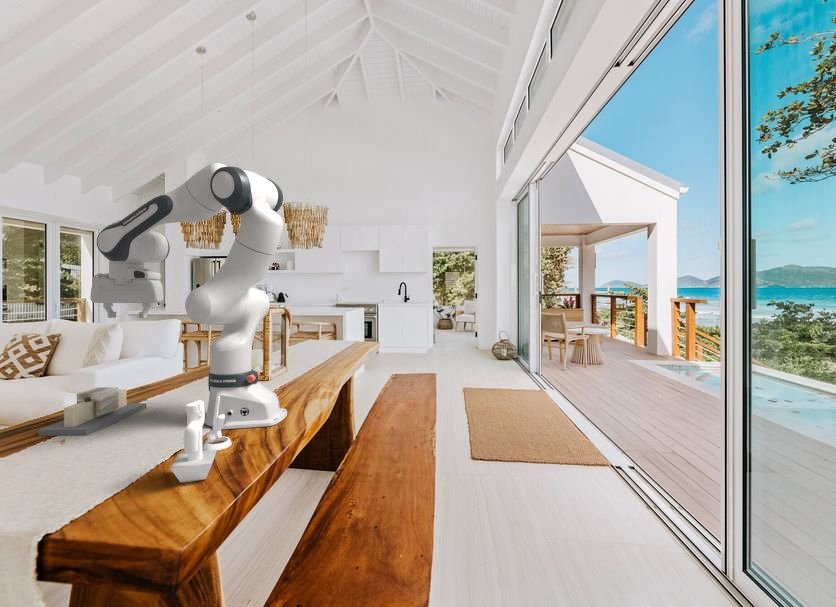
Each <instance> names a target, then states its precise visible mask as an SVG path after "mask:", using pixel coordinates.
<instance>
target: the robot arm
mask: <svg viewBox="0 0 836 607" xmlns="http://www.w3.org/2000/svg"><path fill="white" fill-rule="evenodd" d="M283 202H284V194H283V191H282V188H281V187H280V186H279V185H278V184H277V183H276V182H275V181H273V180H271V179H270V178H266V177H264V176H262V175H260V174H258V173H256V172H254V171H250V170H248V169H242V168H240V167H238V166H229V165H226V164H224V163H222V162H212V163H210V164H208V165H206V166H204V167H203V168H202V169H199V170H198V171H197V172H195V173H194V174H193V175H192V176H190V177H189V178H188V179H187V180H186V181H185V182H183V183H182V184H181V185H179V186H178V187H176V188H173V189H172V190H171V191H168V192H166V193H164V194H160V195H158V196H156V197H153V198H152V199H150V200H148V201H147V202H146V203H144V204H142V205H141V206H140V207H138V208H137V209H135V210H134V211H132V212H130V214H128V215H126V216H125V217H124V218H122V219H120V220H116V221H113V222H112V223H111V224H109V225H107V226H106V227H104V228H103V229H102V230H101V231H99V233H98V235H97V238H96V247H97V249H98V250H99V252H100V253H101V255H102V256H103V257H105V258H106V259H107V260H108V273H101V272H100V273H99V272H98V273H96V274H95V275H94V276H93V277H92V279H91V288H90V297H89V298H90V301H91V302H92V303H93V304H103V305H102V307H103V309H104V310H105V311H106V313H107V318H108V319H115V318H117V311H114V310H113V306H114V304H141V306H142V307H143V308H142V310H141V311H139V312H138V318H139V319H147V317H148V312H149V310H150V309H151V307H152V304H161V303H162V302H163V300H164V289H163V284H162V282H161V281H160V280H161V277H162V276H161V275H162V274H161V273H159V272H156V271H153V270H150V269H147V268H145V263H149V264H156V263H161V262H164V261H165V260H166V259H167V258H168V256H169V254H170V249H171V248H170V247H171V246H170V243H169V240H168V238H167V237H166V236H165V235H164V234H163V233H161V232H156V231H152V230H153V229H155V228H156V227H158V226H160V225H161V226H162V225H165V224H170V223H172V224H174V223H193V224H194V223H203V222H205V221H207V220H209V219H211V218H213V217H214V216H215V215H216V214H217V213H218V212H220V211H221V210H222V209H223V208H225V209H226V210H227V211H228V212H229V213H230V214H231V215H233V216H240V217H239V218H240V225H239V229H238V231H237V234H236V236H235V239H234V240H233V243H232V245H231V248H230V250H229V252H228V254H227V257H226V259H225V261H224V262H223V264H222V265H221V266H220V267H219V269H218V270H217V271H216V272H215V273H214V275H212V276H211V278H209V280H207V281H206V282H204V283H203V284H202V285H200V286H199V287H196V288H194V289H193V290H191V291H190V292H189V293H188V295H187V297H186V298H185V303H184V306H185V309H184V310H185V312H186V315H187V317H188V318H189V319H190V321H192V322H193V323H195V324H198V325H205V326H222V325H223V328H222V331H221V333H220V335H219V336H218V337H217V338H216V339H215V340H213V341H212V343H211V345H210V347H209V372H208V377H207V380H208V381H207V382H208V384H207V385H208V391H209V396H208V405H207V409H206V413H205V420H204V424H205V425H206V426H209V427H211V428H212V429H213V427H214V424H215V421H216V419H217V417H218V416H220V415H222V414H224V415H225V419H224V422H223V425H222V428H221V430H230V429H231V430H232V429H244V428H245V429H248V428H260V427H271V426H274V425H277V424H279V423H280V422H282V421H284V420H285V419H286V417H288V416H287V415H288V409H286V408H285V407H283V408H281V407H280V402H279V397H278V395H277V394H276V393H275V392H274V391H273V390H271V389H269V388H268V387H266V386H265V385H263V383H261V382H259V376H261V372H260V371H258V372H257V371H256V370H254V369H253V365H252V364H253V363H252V362H253V359H252V358H253V343H254V338H255V335H256V332H257V330H258V328H259V325H260V323H261V321H262V320H263V319H264V318H265V317H266V316H267V315H268V313H269V310H270V305H271V303H270V298H269V296H268V294H267V293H266V292H265V291H264V290H262V289H259V288H256V287H253V286H255V285H256V284H257V283H259V282H261V281H263V280H264V278H265V277H266V276H267V274H268V271H269V269H270V266H271V264H272V262H273V259H274V257H275V254H276V253H277V250H278V247H279V245H280V241H281V238H282V234H283V231H284V230H283V228H284V221H283V218H282V216H280V214H278V212H279V210H280V209H281V207H282V205H283Z"/></svg>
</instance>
